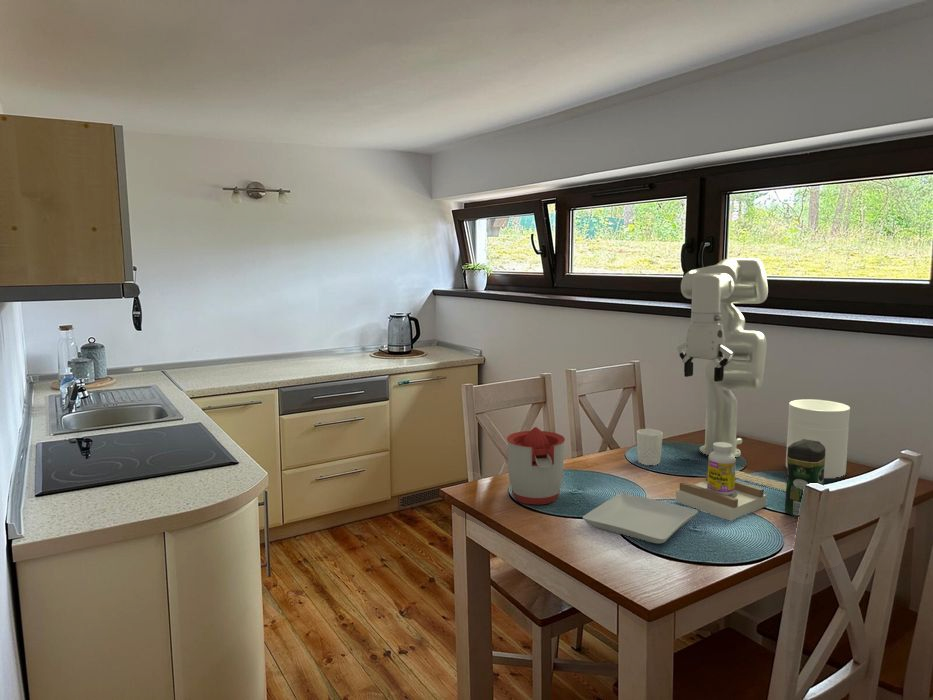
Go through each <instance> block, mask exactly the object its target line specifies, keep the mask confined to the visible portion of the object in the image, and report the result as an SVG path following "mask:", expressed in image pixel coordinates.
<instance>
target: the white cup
mask: <svg viewBox="0 0 933 700" xmlns="http://www.w3.org/2000/svg"><path fill="white" fill-rule="evenodd" d="M663 433H664V432H663V431H661V430H659V429H655V428H642V429H638V430H636V447H637V449H636V450H637V451H636V452H637V463H639V464H640V463H641V464H640V465H643V464H644V466H649V465H653V466H658V465H660V464H661V458H662V457H661V456H662V447H663V446H662V445H663ZM659 463H660V464H659ZM657 464H658V465H657Z"/></svg>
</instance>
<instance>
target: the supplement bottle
mask: <svg viewBox="0 0 933 700" xmlns="http://www.w3.org/2000/svg"><path fill="white" fill-rule="evenodd" d="M713 450H714V452H711V453H710V454H709V456H708V459H707V460H708V461H707V464H708V465H707V473H708V480H707V489H708V490H711V491H714V492H717V493H721V494H724V495H731V494H733V492H734V486H735V481H736V479H735V470H736V465H737V463H736V462H737V461H736V460H737V457H736V458H735V456H734V455H733V454H732V453H731V451H732V445H731V444H729V443H725V442H716V443H713Z"/></svg>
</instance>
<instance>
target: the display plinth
mask: <svg viewBox="0 0 933 700" xmlns="http://www.w3.org/2000/svg"><path fill="white" fill-rule="evenodd" d="M707 480H708V472H707V473H705V481H701V482H697V483H695V484H692V483H689V482H686V481H681V482H679V489H678V490H675V503H677V502H679V503H678V504H680V503H681V504H680V505H683V504H685V505H684V506H686V505H688V506H687V507H689V506H691V507H694V508H696V510H697V509H699V510H698V511H700V510H702V511H701V512H703V511H705V512H704V513H706V512H707V513H706V514H708V513H710V514H709V515H711V514H713V515H712V516H714V515H715V516H714V517H717V516H718V518H720V517H721V518H720V519H722V518H724V519H723V520H725V519H727V520H726V521H728V520H730V521H729V522H732V521H734V520H736V519H735V518H737V519H739V518H741V517H743V516H742V515H744V516H746V515H748V514H747V513H749V514H751V513H753V512H755V511H758V510H760V509H763V508H765V507H766V506H767V494H764V493H765V491H764V488H762V487H758V486H755V485H753V484H750V483H746V482H743V481H740V480H735V486H734V492H733V494H731V495H724V494H721V493H717V492H714V491H711V490H708V489H707ZM691 507H690V508H691ZM694 508H693V509H694ZM745 514H746V515H745ZM740 516H741V517H740ZM738 517H739V518H738ZM733 519H734V520H733ZM731 520H732V521H731Z"/></svg>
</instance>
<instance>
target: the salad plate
mask: <svg viewBox="0 0 933 700" xmlns="http://www.w3.org/2000/svg"><path fill="white" fill-rule="evenodd" d="M698 513H699V510H697V509H694V508H691V507H688V506H683V505H682V506H681V505H678V504H673V503H670V502H665V501H661V500H656V499H652V498H651V499H650V498H647V497H644V496H643V497H642V496H637V495H633V494H629V493H623V492H621V493H618V494H615V495H614V496H612V497H611V498H609V499H608V500H606V501H605V502H603V503H602V504H600V505H598V506H597V507H595V508H593V509H592V510H590V511H589V512H587V513H585V514H584V515H583V516H582V519H583V521H584V522H585V523H586V524H588V525H590V526H592V527H594V528H598V529H600V530H604V531H609V532H612V533H615V534H619V535H622V534H623V535H622V536H625V535H626V537H629V536H630V537H629V538H633V537H634V538H633V539H636V538H637V539H636V540H640V539H641V541H644V540H645V542H647V543H653V544H663V543H665V542H666V541H668V539H669V538H670V537H671V536H672V535H673V534H674V533H675V532H676V531H677V530H679V529H680V528H681V527H683V526H684V525H685V524H686V523H688V522H689V521H690V520H692V519H693V518H695V516H696V515H697V514H698Z"/></svg>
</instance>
